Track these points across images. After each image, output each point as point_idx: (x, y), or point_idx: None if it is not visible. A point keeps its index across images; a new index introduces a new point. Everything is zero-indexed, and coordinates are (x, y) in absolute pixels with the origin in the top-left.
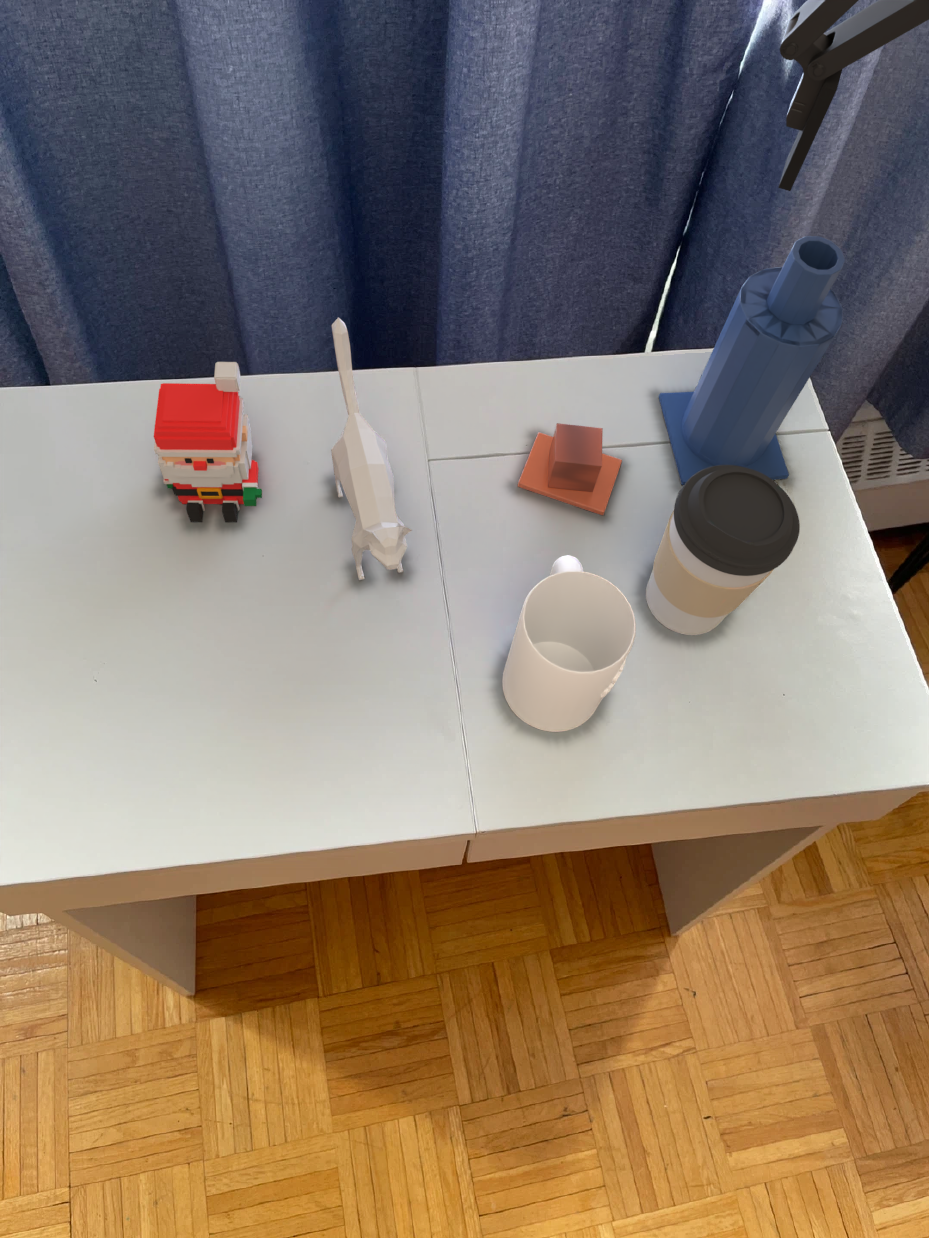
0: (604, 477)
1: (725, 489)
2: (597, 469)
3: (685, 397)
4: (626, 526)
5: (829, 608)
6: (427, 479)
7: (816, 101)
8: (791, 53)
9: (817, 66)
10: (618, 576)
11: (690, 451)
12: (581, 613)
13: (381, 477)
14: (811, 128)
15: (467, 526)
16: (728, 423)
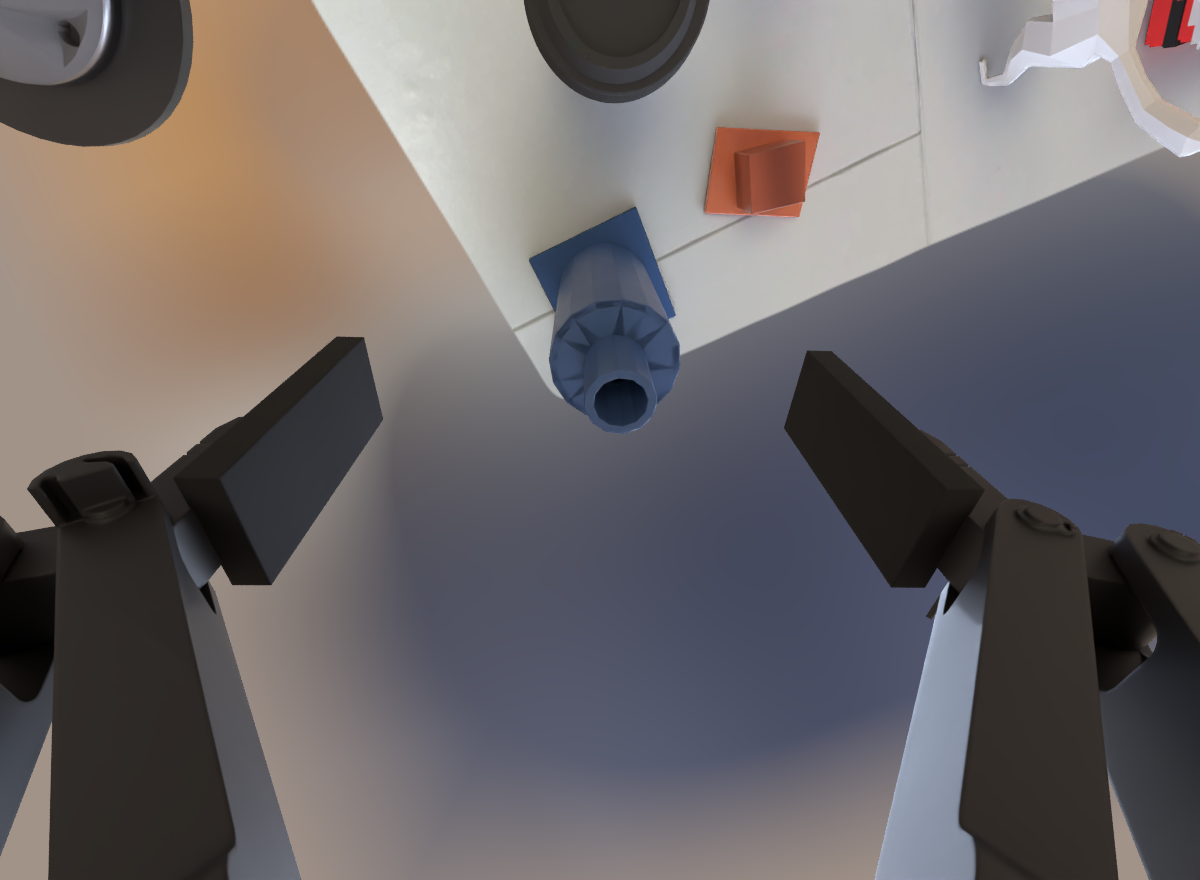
0: (722, 179)
1: (650, 11)
2: (750, 153)
3: None
4: (687, 122)
5: (441, 88)
6: (922, 102)
7: (953, 462)
8: (1166, 536)
9: (1058, 526)
10: None
11: (634, 252)
12: None
13: None
14: (896, 421)
15: (875, 44)
16: (619, 259)
